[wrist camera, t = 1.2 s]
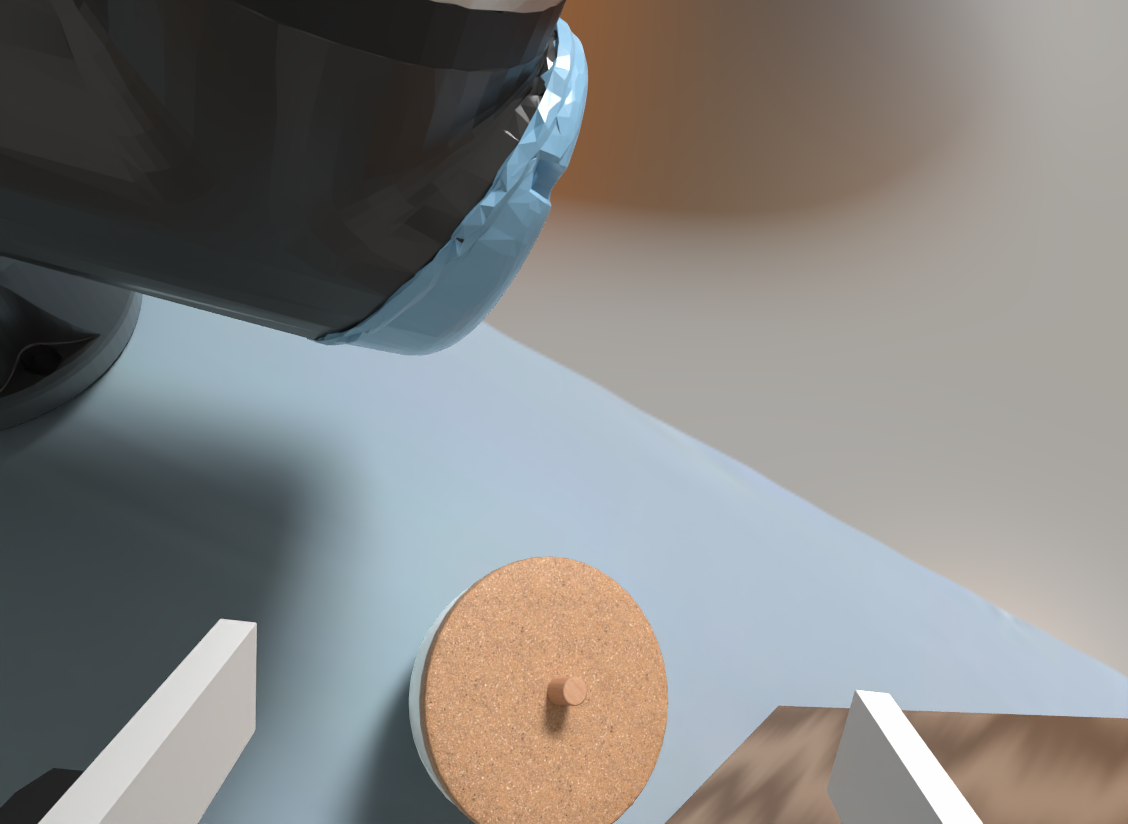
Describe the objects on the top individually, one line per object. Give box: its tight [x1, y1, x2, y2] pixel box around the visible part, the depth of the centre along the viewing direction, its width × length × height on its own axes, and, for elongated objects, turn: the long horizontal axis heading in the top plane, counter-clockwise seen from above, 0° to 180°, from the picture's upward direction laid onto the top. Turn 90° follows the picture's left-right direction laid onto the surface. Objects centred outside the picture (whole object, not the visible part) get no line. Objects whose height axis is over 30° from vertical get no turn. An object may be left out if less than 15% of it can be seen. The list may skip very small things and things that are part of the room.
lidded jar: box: [409, 557, 668, 824], centre depth 28 cm, size 11×11×9 cm
